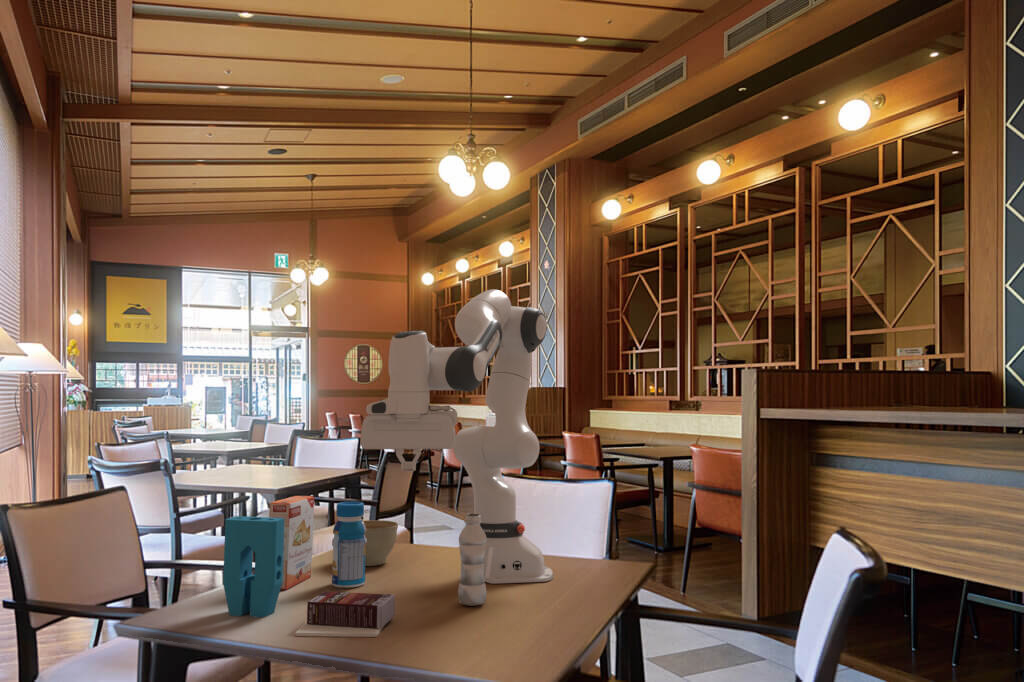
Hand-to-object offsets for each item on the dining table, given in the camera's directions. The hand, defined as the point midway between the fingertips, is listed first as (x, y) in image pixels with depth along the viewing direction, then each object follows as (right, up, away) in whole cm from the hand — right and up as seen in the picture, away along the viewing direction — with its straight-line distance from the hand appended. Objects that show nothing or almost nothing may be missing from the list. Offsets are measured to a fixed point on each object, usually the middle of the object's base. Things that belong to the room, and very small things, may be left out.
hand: (408, 470), depth 157 cm
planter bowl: (-18, -35, +50) cm, 64 cm away
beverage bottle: (-19, -33, +26) cm, 46 cm away
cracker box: (-34, -33, +27) cm, 55 cm away
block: (-34, -31, +1) cm, 46 cm away
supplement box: (-3, -27, -7) cm, 28 cm away
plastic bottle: (+13, -32, +9) cm, 36 cm away
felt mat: (-12, -30, -7) cm, 33 cm away
